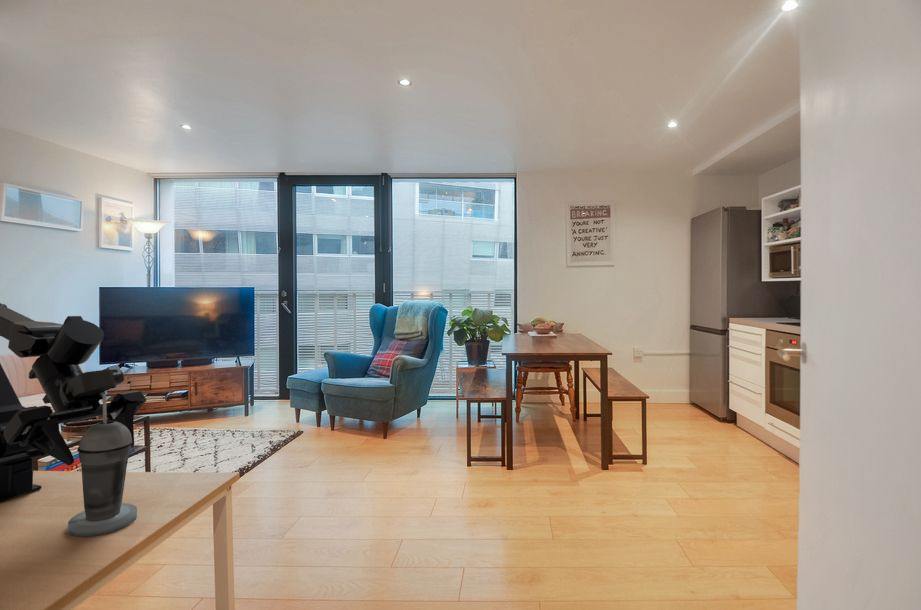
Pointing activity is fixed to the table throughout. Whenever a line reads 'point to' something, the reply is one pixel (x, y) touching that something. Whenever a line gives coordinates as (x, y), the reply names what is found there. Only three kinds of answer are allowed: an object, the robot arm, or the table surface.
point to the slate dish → (102, 522)
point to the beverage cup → (104, 467)
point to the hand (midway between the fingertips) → (103, 454)
